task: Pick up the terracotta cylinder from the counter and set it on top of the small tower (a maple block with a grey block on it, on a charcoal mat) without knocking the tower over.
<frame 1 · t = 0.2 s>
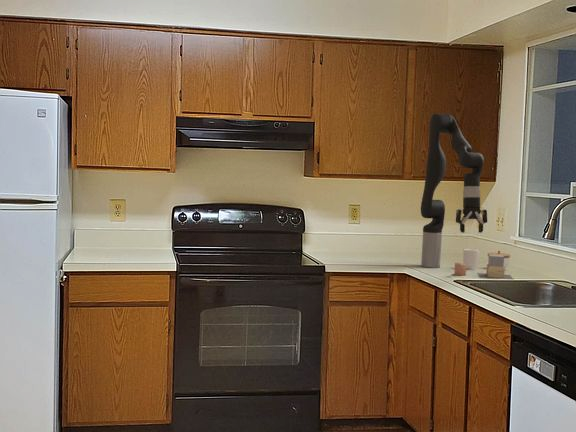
hand: (471, 232, 338), 21 cm above the table, tool pointing down, fingers open, 8 cm apart
maple block: (495, 276, 344), point 1 cm above the table, touching charcoal mat, grey block
lidded jar: (497, 270, 370), on the table
terracotta cylinder: (459, 276, 344), on the table
white cup: (470, 270, 365), on the table
grey block: (495, 265, 343), point 6 cm above the table, touching maple block
charcoal mat: (495, 277, 344), on the table
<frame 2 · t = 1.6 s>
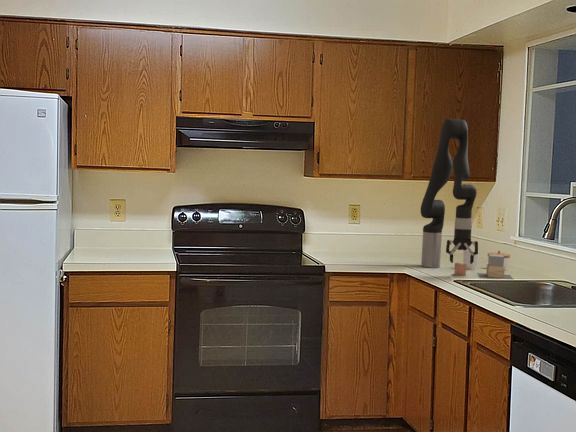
hand: (461, 263, 343), 6 cm above the table, tool pointing down, fingers open, 8 cm apart
nothing on the table moved.
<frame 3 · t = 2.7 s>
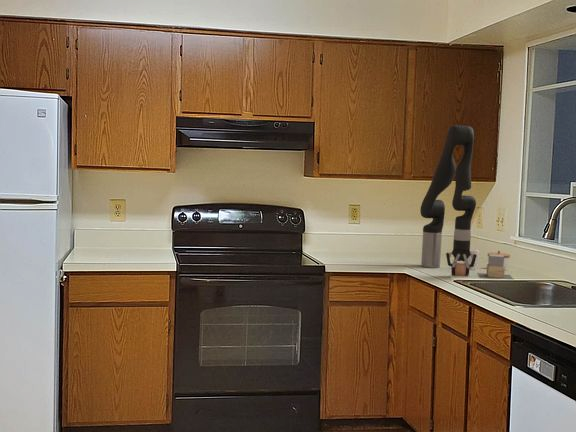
hand: (459, 275, 344), 0 cm above the table, tool pointing down, fingers closed on terracotta cylinder, 5 cm apart
terracotta cylinder: (459, 276, 344), on the table, touching gripper
everything else where it was.
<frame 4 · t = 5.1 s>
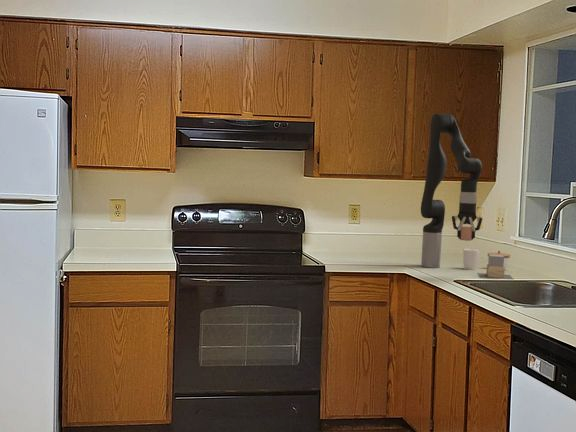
hand: (465, 238, 342), 18 cm above the table, tool pointing down, fingers closed on terracotta cylinder, 5 cm apart
terracotta cylinder: (465, 239, 342), point 17 cm above the table, touching gripper
everything else where it was.
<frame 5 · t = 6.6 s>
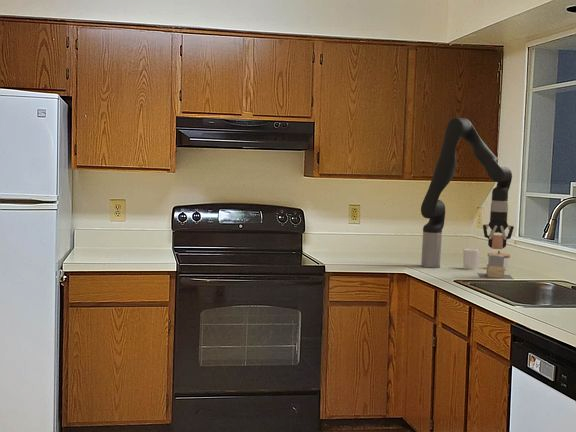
hand: (496, 247, 342), 14 cm above the table, tool pointing down, fingers closed on terracotta cylinder, 5 cm apart
terracotta cylinder: (496, 248, 342), point 14 cm above the table, touching gripper
everything else where it was.
when the fingers open (12 cm above the table, at t = 7.8 s): terracotta cylinder drops 1 cm, resting on grey block.
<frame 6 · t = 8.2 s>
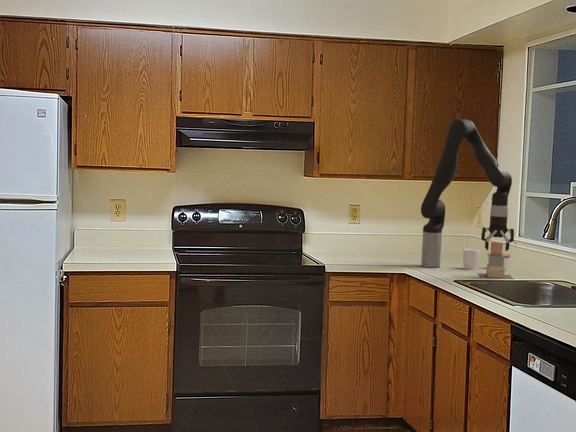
hand: (496, 250, 343), 13 cm above the table, tool pointing down, fingers open, 8 cm apart
terracotta cylinder: (496, 255, 343), point 10 cm above the table, touching grey block
grey block: (495, 265, 343), point 6 cm above the table, touching maple block, terracotta cylinder
everything else where it was.
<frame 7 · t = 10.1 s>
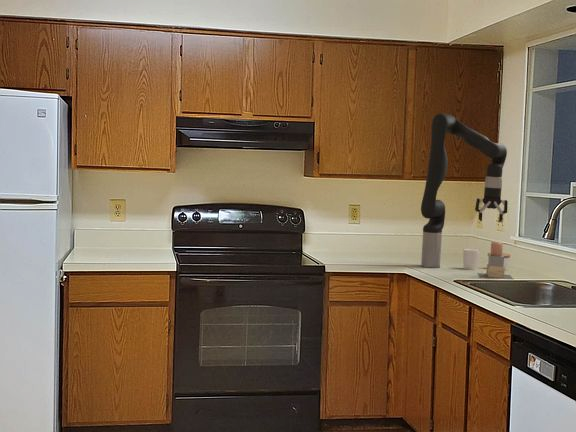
hand: (490, 221, 346), 25 cm above the table, tool pointing down, fingers open, 8 cm apart
nothing on the table moved.
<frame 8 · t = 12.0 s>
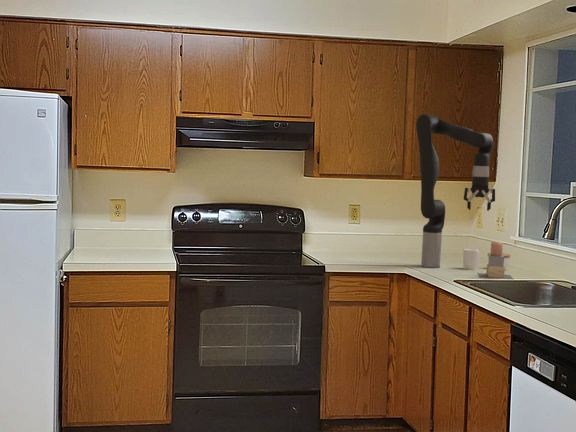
hand: (478, 210, 352), 30 cm above the table, tool pointing down, fingers open, 8 cm apart
nothing on the table moved.
at the end: terracotta cylinder 0.1 cm off-centre on the grey block, point 4.5 cm above the grey block's base; grey block 0.0 cm off-centre on the maple block, point 5.0 cm above the maple block's base; maple block moved 0.0 cm from its start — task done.
